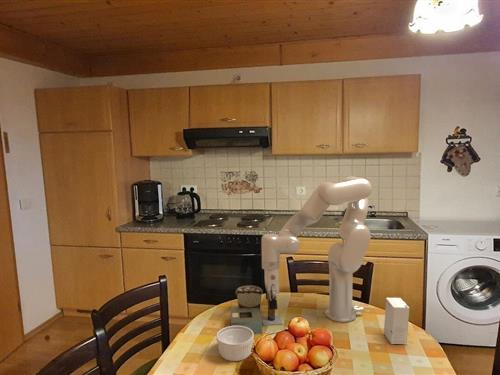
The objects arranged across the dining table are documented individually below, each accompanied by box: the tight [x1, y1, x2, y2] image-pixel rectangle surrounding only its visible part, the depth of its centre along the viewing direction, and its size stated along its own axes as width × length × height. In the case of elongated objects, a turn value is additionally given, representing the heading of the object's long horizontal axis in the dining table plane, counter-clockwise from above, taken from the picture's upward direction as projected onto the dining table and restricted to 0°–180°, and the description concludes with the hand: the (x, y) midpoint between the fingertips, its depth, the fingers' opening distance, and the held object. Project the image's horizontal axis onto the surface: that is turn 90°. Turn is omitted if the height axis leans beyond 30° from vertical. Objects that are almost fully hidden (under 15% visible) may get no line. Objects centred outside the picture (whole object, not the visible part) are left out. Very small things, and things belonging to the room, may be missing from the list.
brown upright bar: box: [266, 291, 276, 321], centre depth 149 cm, size 3×3×13 cm
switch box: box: [230, 308, 263, 335], centre depth 145 cm, size 12×12×5 cm
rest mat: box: [261, 314, 283, 327], centre depth 150 cm, size 8×8×1 cm
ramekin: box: [216, 325, 255, 362], centre depth 126 cm, size 13×13×7 cm
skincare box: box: [383, 297, 410, 345], centre depth 133 cm, size 8×6×15 cm
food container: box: [235, 285, 264, 311], centre depth 161 cm, size 12×6×10 cm, turn 84°
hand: (271, 303), depth 149 cm, fingers open, 9 cm apart
